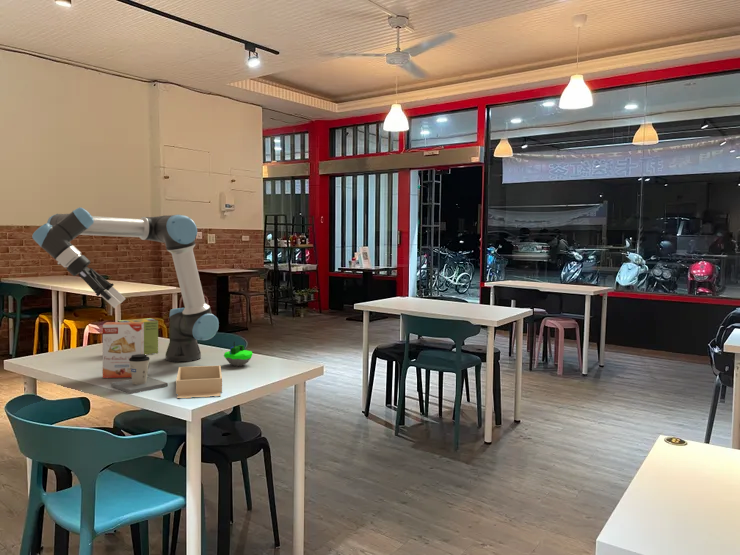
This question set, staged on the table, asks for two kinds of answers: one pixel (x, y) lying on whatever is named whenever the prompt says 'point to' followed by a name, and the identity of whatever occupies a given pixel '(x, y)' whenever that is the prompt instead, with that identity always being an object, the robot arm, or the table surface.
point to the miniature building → (238, 355)
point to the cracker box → (121, 347)
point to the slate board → (138, 385)
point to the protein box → (148, 334)
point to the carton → (199, 381)
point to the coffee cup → (139, 368)
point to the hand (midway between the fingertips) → (120, 303)
